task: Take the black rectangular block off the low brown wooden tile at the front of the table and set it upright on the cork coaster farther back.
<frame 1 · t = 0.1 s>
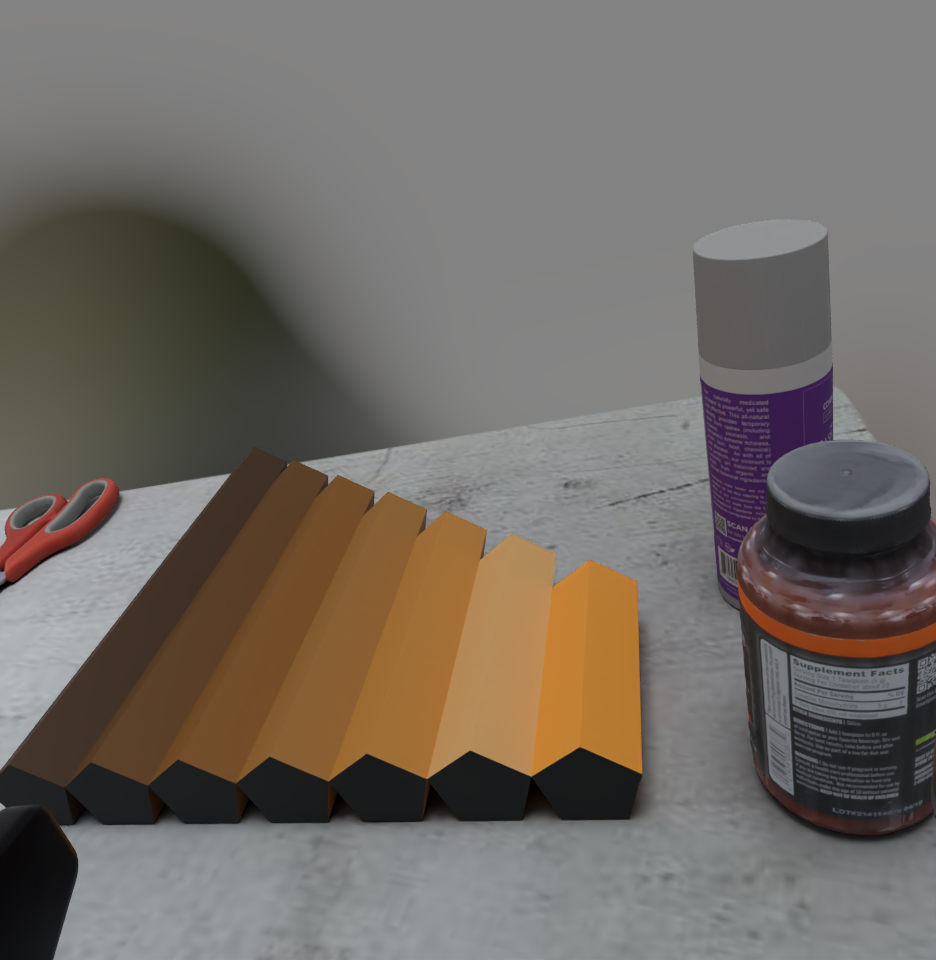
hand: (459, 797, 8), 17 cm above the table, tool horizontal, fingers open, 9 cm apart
container: (774, 586, 37), on the table
scissors: (5, 590, 51), on the table
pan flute: (383, 607, 41), on the table
supplement bottle: (846, 771, 28), on the table
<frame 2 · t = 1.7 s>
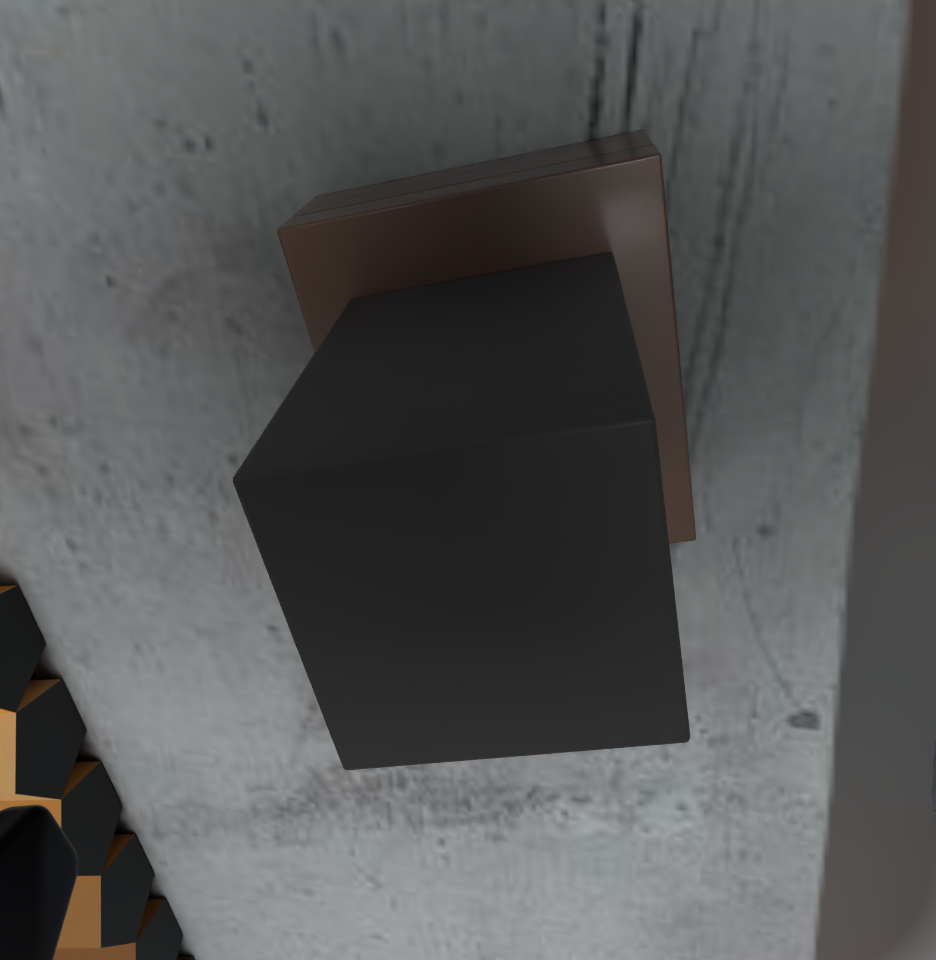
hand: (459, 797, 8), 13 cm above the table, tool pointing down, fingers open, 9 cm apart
black rectangular block: (502, 397, 17), point 3 cm above the table, touching brown wooden tile
brown wooden tile: (508, 343, 20), on the table
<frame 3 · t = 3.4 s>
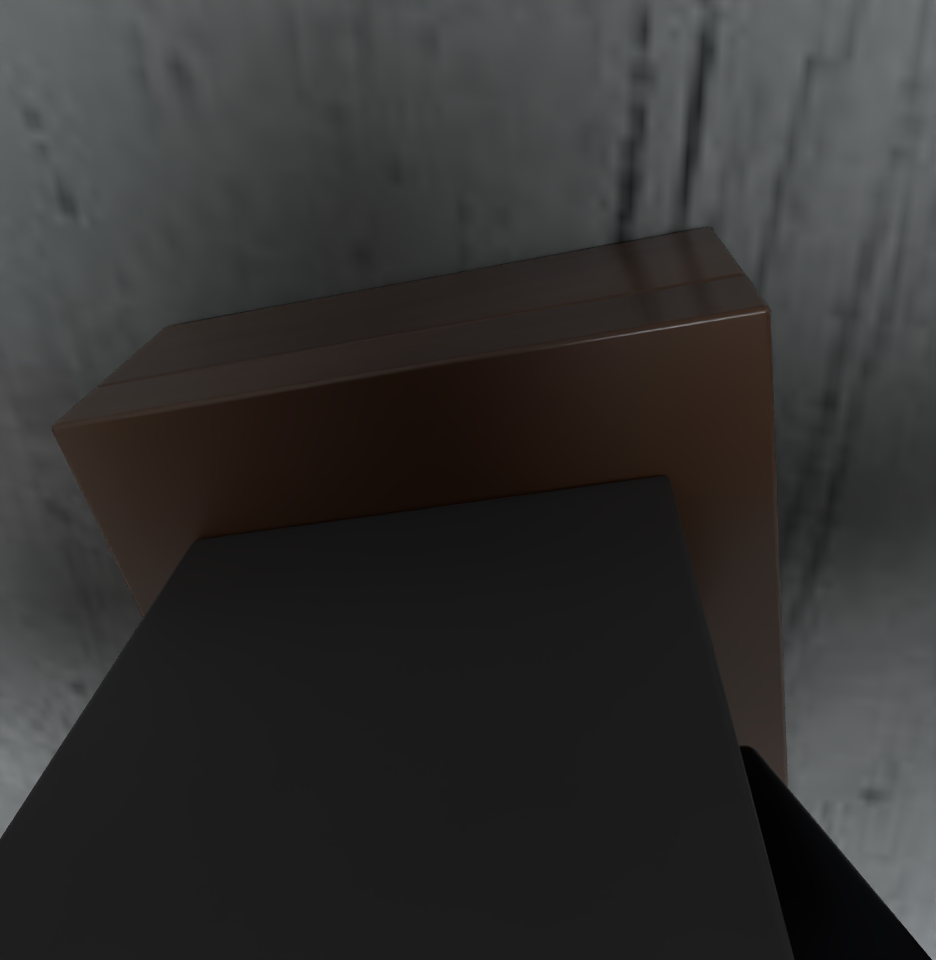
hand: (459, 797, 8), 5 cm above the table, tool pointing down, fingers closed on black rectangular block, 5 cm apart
black rectangular block: (468, 689, 10), point 3 cm above the table, touching gripper, brown wooden tile
brown wooden tile: (485, 544, 12), on the table
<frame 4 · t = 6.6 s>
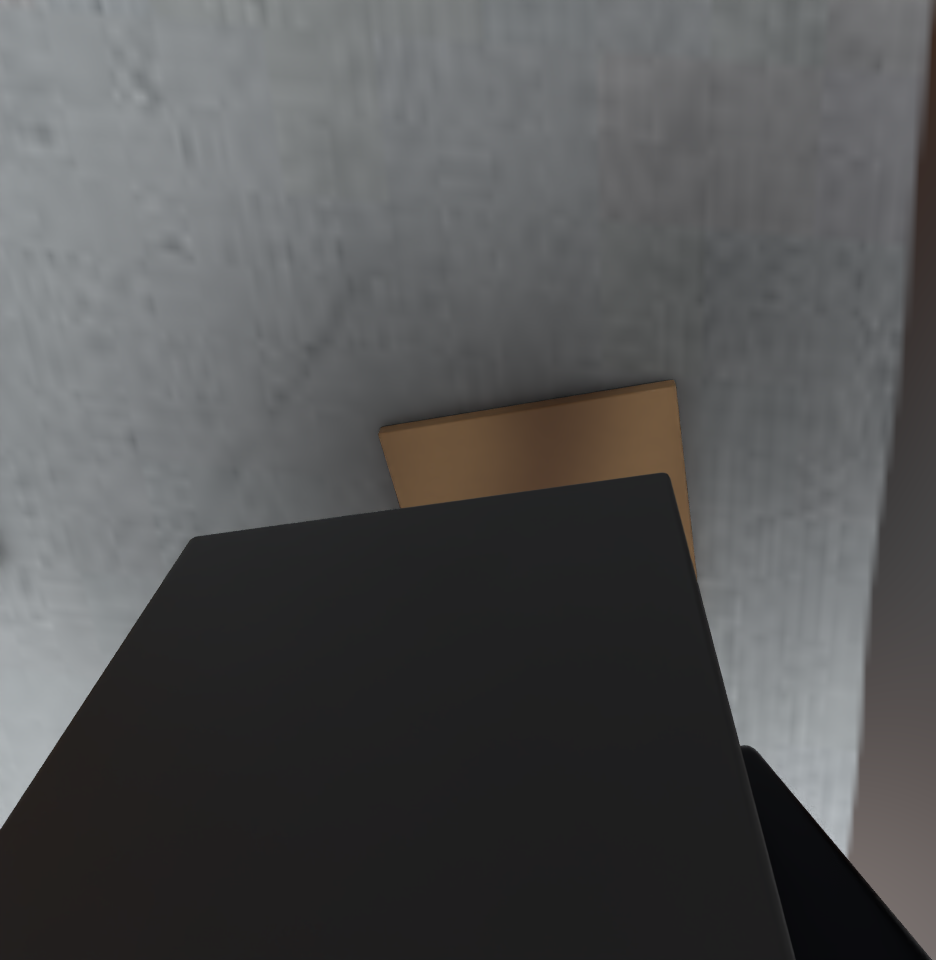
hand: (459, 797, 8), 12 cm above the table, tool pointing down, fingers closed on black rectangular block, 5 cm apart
coaster: (547, 526, 22), on the table
black rectangular block: (467, 687, 10), point 11 cm above the table, touching gripper
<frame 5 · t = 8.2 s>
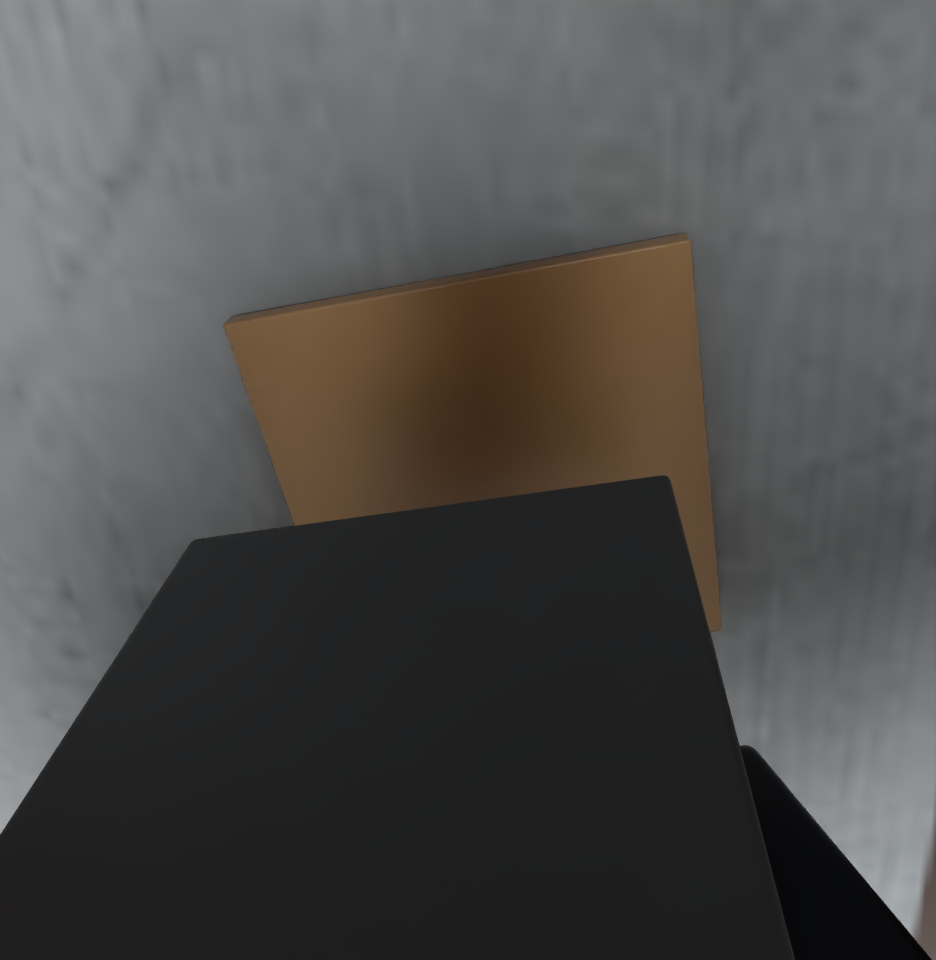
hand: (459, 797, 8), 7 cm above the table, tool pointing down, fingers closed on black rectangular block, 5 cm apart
coaster: (492, 477, 14), on the table
black rectangular block: (468, 689, 10), point 5 cm above the table, touching gripper
when the fingers open (2 cm above the table, at t = 9.8 s): black rectangular block stays where it is, resting on coaster.
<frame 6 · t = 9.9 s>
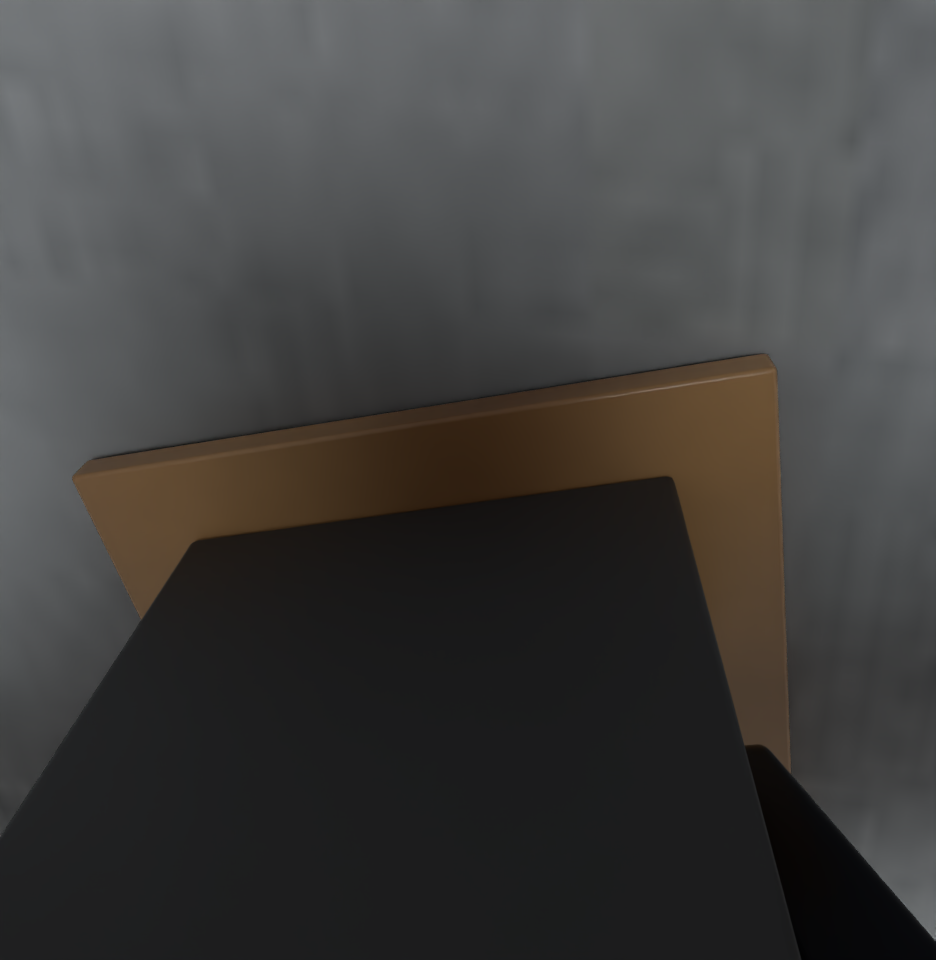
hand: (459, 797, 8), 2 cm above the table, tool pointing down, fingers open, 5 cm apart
coaster: (473, 673, 10), on the table
black rectangular block: (470, 691, 10), resting on coaster
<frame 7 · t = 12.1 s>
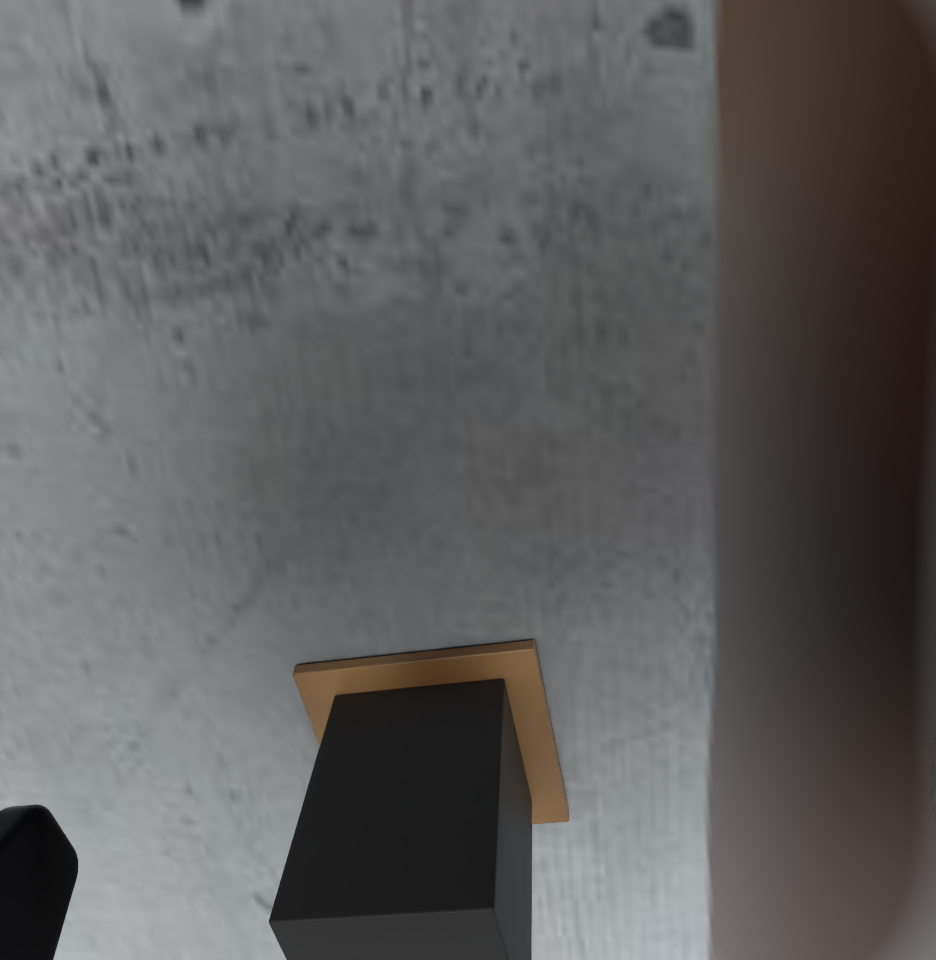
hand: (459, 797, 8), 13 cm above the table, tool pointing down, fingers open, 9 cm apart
coaster: (437, 741, 26), on the table
black rectangular block: (436, 749, 25), resting on coaster
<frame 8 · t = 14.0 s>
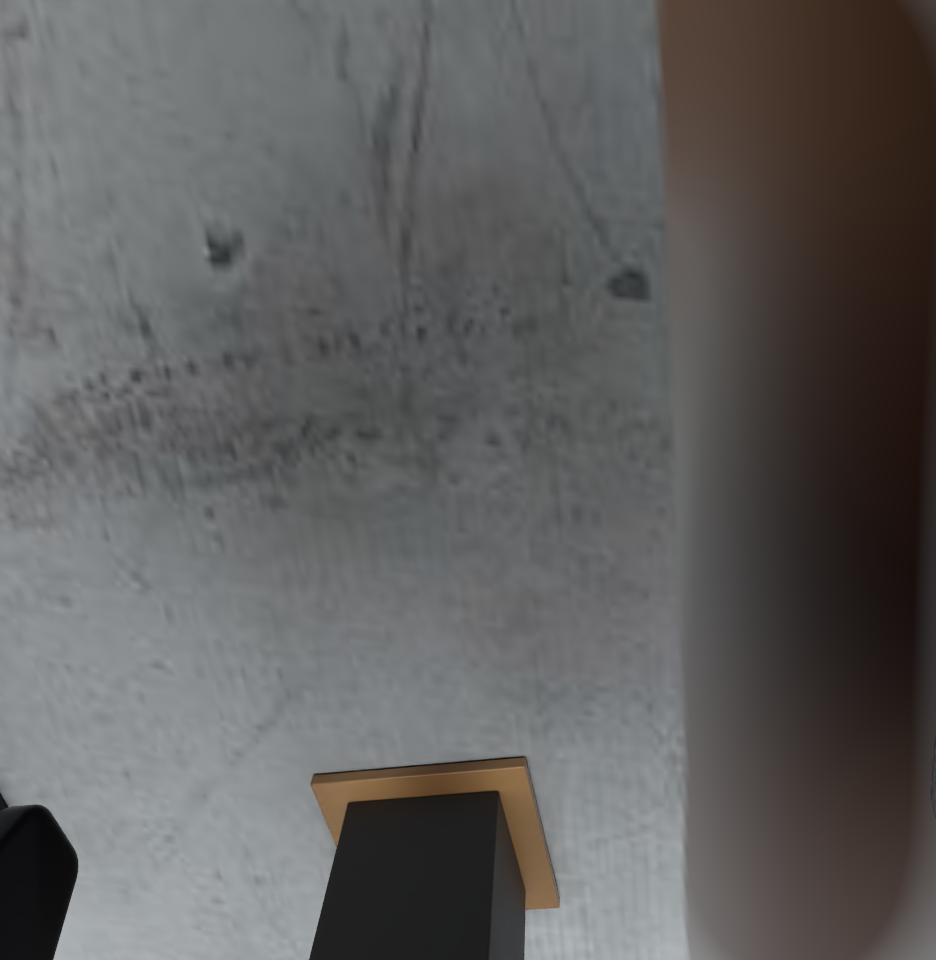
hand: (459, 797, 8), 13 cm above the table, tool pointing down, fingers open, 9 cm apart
coaster: (440, 838, 29), on the table
black rectangular block: (439, 847, 28), resting on coaster
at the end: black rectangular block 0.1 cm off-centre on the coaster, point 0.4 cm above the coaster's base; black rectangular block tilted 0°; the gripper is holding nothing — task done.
